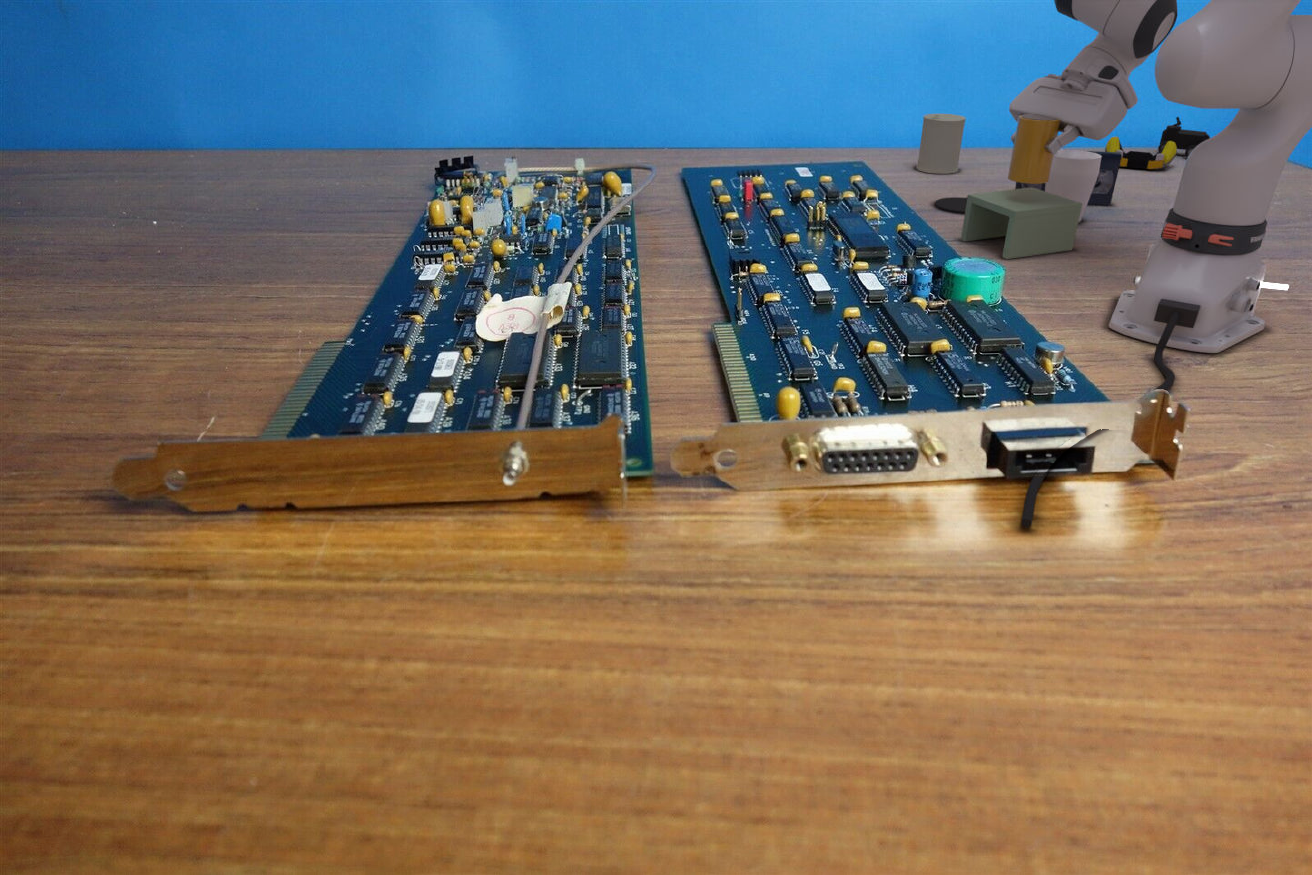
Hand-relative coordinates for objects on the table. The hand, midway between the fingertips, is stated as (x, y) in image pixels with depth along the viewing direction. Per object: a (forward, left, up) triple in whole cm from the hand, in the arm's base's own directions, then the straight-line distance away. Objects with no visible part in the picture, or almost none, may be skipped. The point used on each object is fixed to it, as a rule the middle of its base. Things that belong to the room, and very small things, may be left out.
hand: (1031, 146), depth 154 cm
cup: (+23, 0, -17) cm, 28 cm away
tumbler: (+1, 0, -5) cm, 5 cm away
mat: (+19, +18, -17) cm, 31 cm away
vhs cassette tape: (+36, +5, -17) cm, 40 cm away
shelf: (+1, 0, -17) cm, 17 cm away
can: (+46, +37, -17) cm, 61 cm away
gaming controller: (+81, +4, -17) cm, 82 cm away
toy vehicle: (+101, -3, -17) cm, 102 cm away
